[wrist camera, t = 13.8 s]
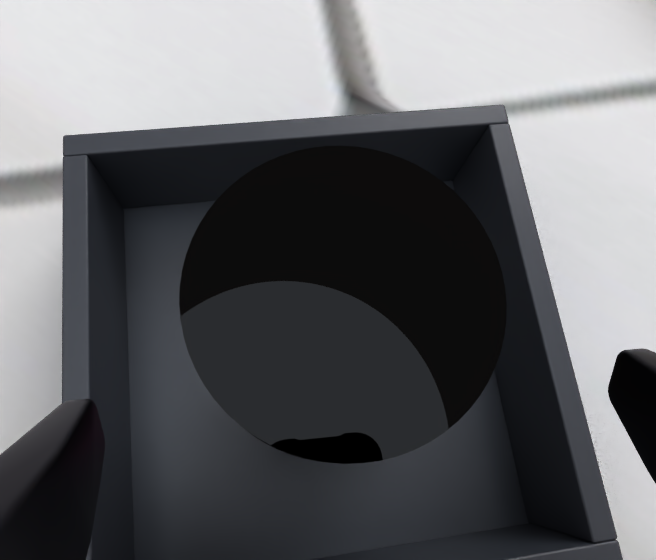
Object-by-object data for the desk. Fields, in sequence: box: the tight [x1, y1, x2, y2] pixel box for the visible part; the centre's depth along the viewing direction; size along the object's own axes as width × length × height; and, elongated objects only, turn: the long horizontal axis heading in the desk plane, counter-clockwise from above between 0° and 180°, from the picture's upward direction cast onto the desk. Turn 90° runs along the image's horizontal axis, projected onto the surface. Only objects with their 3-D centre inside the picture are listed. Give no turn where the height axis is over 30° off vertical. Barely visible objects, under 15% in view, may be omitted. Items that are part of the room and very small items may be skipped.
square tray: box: [62, 105, 623, 560], centre depth 19 cm, size 16×16×5 cm
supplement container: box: [179, 146, 507, 464], centre depth 16 cm, size 7×7×10 cm
